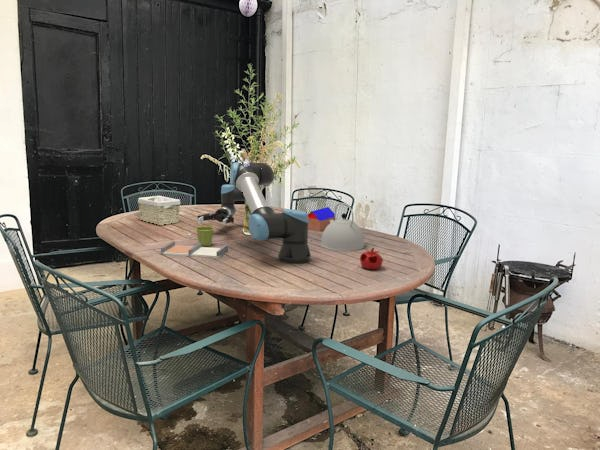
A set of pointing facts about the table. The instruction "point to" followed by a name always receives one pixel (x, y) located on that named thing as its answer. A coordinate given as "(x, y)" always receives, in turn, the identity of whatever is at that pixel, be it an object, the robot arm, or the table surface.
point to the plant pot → (205, 235)
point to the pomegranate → (371, 260)
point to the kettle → (343, 234)
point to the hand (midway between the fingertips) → (211, 222)
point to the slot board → (193, 250)
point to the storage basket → (159, 209)
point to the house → (320, 219)
